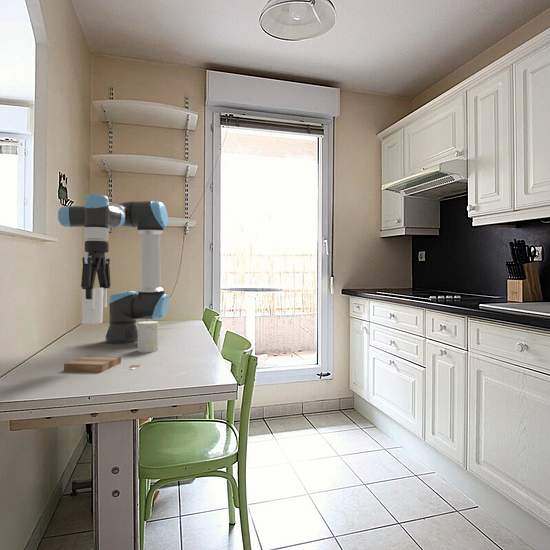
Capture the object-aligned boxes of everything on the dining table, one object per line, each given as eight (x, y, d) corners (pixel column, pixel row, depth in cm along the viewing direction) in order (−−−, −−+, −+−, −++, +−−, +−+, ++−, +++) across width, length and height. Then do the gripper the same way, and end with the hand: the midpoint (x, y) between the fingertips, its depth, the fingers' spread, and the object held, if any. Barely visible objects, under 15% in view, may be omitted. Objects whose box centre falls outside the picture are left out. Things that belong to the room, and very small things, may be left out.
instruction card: (127, 364, 145) (127, 363, 145) (147, 364, 146) (147, 363, 146) (118, 371, 135) (118, 370, 135) (140, 371, 136) (140, 370, 136)
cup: (147, 354, 164) (147, 324, 164) (133, 352, 169) (133, 322, 168) (162, 351, 171) (162, 322, 171) (149, 349, 175) (149, 320, 175)
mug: (102, 323, 139) (103, 287, 139) (80, 324, 136) (81, 287, 136) (103, 320, 148) (103, 287, 148) (82, 321, 146) (83, 287, 146)
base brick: (86, 364, 148) (86, 355, 148) (120, 365, 147) (120, 356, 147) (64, 372, 135) (64, 363, 135) (101, 374, 134) (101, 364, 134)
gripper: (101, 242, 151) (101, 305, 151) (68, 238, 131) (68, 310, 131) (121, 242, 151) (121, 305, 151) (91, 238, 130) (91, 310, 130)
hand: (96, 307), depth 141 cm, fingers closed on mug, 7 cm apart
